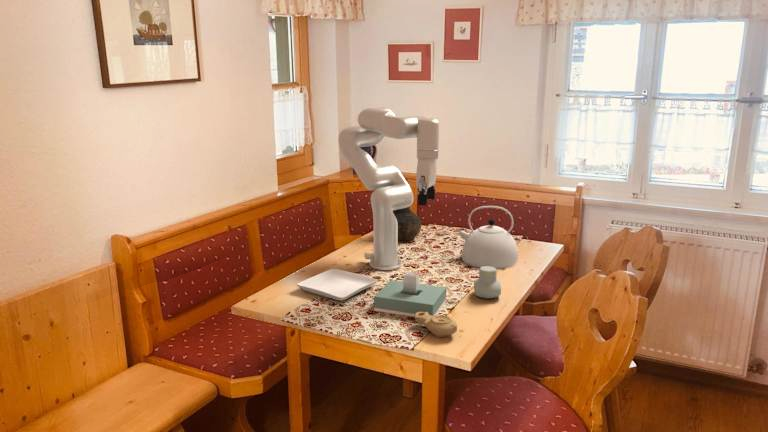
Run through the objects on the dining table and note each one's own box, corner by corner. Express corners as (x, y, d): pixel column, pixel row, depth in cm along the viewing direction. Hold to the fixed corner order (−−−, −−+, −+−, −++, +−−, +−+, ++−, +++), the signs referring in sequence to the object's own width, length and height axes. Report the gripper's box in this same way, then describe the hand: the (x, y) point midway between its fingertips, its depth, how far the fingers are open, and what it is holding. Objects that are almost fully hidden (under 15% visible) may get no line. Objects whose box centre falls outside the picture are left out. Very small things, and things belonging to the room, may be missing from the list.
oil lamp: (416, 321, 197) (416, 306, 196) (461, 327, 193) (462, 312, 192) (407, 335, 188) (407, 320, 186) (454, 342, 183) (454, 326, 182)
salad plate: (379, 287, 226) (379, 278, 226) (342, 306, 210) (342, 297, 209) (333, 275, 238) (333, 267, 237) (295, 293, 221) (295, 284, 220)
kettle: (454, 266, 248) (455, 211, 242) (458, 249, 269) (460, 198, 264) (518, 270, 243) (521, 214, 238) (517, 252, 265) (520, 200, 259)
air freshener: (472, 289, 223) (473, 263, 221) (496, 289, 223) (497, 263, 221) (477, 301, 213) (478, 274, 210) (501, 301, 213) (502, 274, 210)
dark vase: (403, 230, 296) (403, 172, 289) (429, 239, 283) (430, 178, 276) (373, 237, 285) (373, 177, 278) (399, 246, 272) (400, 183, 265)
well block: (374, 310, 205) (374, 296, 204) (390, 293, 220) (390, 280, 219) (432, 319, 199) (433, 304, 197) (445, 301, 213) (446, 287, 212)
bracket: (403, 303, 209) (403, 275, 206) (406, 300, 211) (406, 272, 209) (415, 305, 207) (416, 276, 204) (418, 302, 210) (419, 274, 207)
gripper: (424, 150, 228) (423, 196, 232) (409, 157, 212) (408, 206, 216) (444, 151, 225) (443, 197, 230) (430, 159, 209) (429, 208, 214)
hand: (426, 202), depth 223 cm, fingers open, 9 cm apart
